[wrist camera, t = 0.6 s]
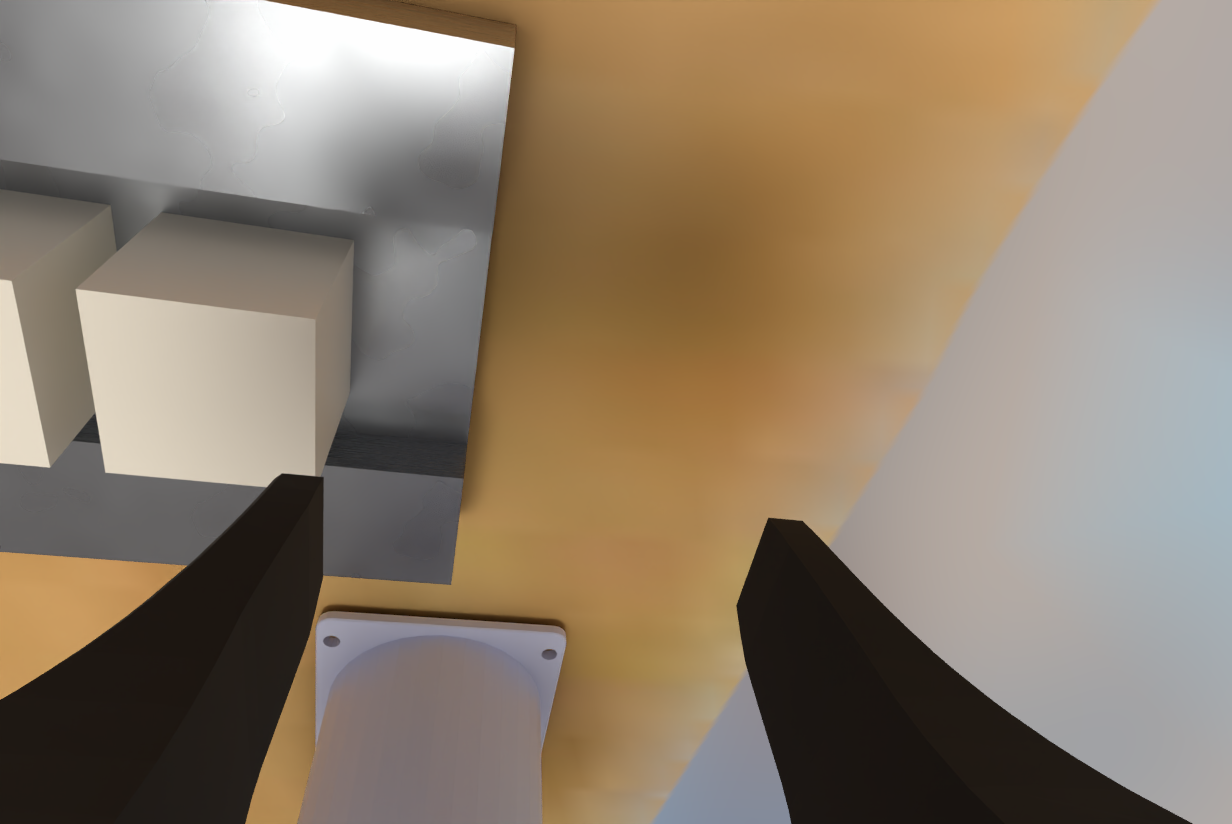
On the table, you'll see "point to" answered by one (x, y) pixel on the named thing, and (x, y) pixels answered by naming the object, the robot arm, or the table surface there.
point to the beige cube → (45, 321)
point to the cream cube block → (219, 350)
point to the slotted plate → (288, 200)
